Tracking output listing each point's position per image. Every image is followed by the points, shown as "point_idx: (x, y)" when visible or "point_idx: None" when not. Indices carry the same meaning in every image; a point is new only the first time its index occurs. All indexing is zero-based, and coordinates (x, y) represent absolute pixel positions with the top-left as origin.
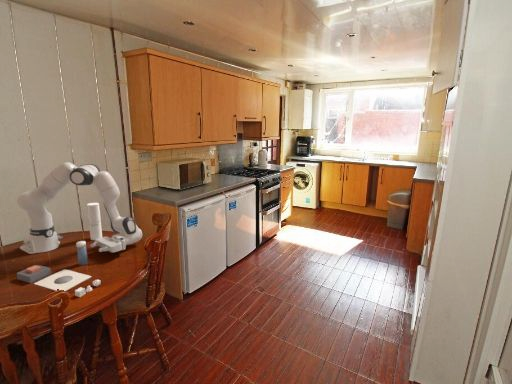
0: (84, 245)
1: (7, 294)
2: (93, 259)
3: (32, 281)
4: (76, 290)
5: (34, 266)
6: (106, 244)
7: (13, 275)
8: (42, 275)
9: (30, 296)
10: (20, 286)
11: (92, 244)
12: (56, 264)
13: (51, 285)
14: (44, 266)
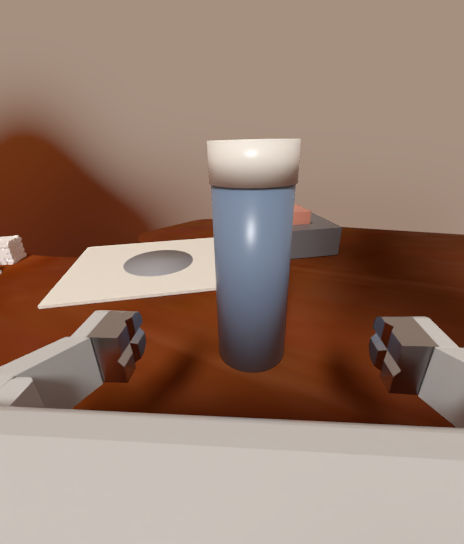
0: (210, 174)
1: None
2: None
3: None
4: (12, 236)
5: (298, 210)
6: (39, 416)
7: (345, 233)
8: None
9: (167, 229)
10: None
11: (409, 327)
12: (362, 287)
13: (163, 245)
14: (297, 230)
